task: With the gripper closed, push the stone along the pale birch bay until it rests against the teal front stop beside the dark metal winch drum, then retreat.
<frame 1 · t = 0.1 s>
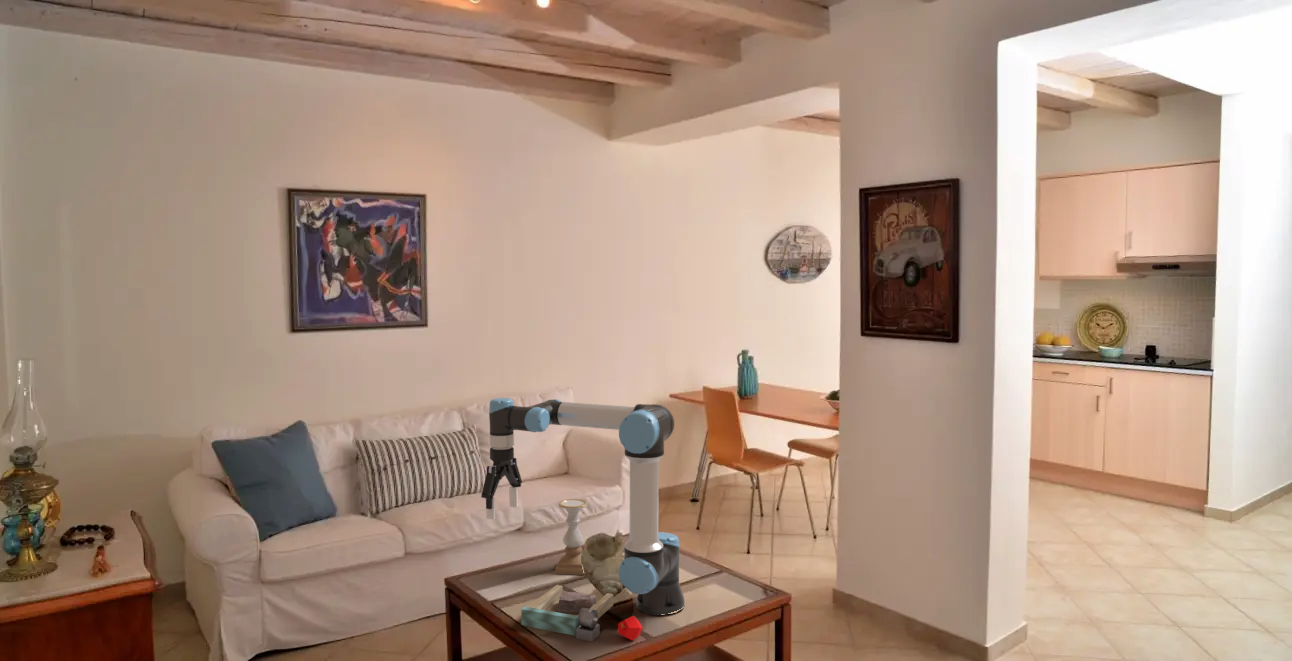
hand: (502, 512, 265), 28 cm above the table, fingers open, 13 cm apart
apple: (630, 638, 239), on the table
bay: (567, 614, 254), on the table
winch: (588, 636, 239), on the table
stone: (576, 609, 259), on the table
candle holder: (573, 569, 292), on the table
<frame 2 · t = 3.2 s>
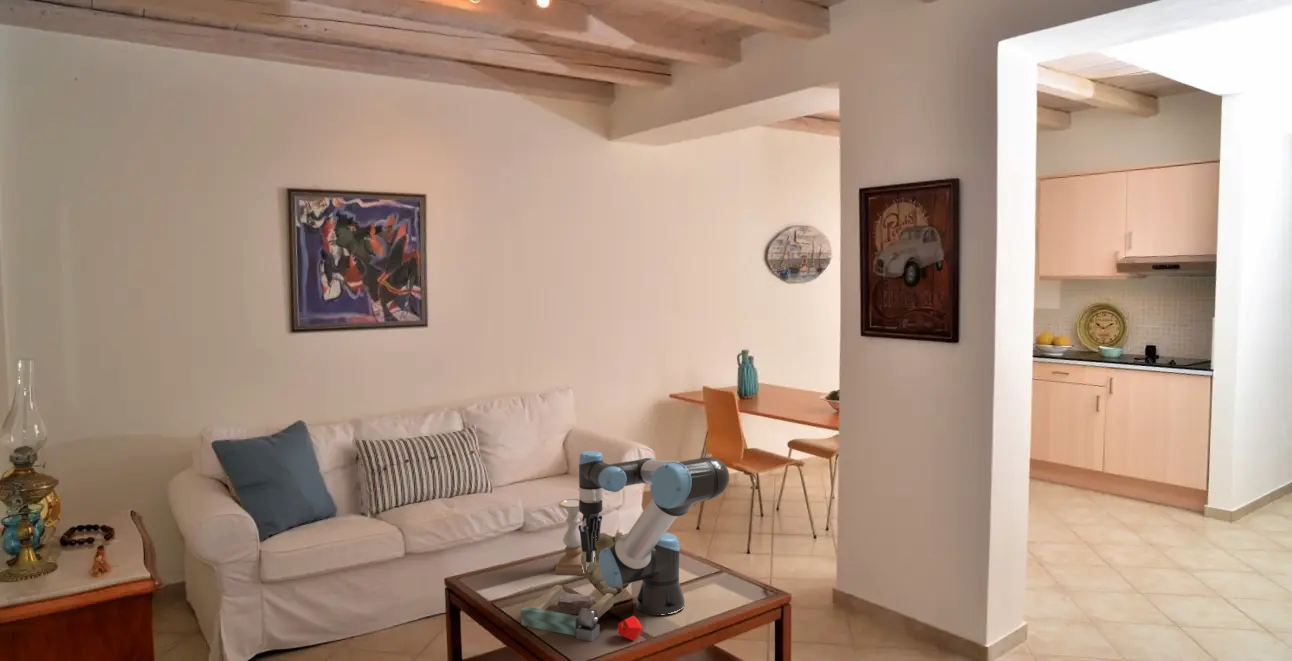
hand: (590, 570, 269), 8 cm above the table, fingers closed
stone: (575, 610, 258), on the table
everything else where it was.
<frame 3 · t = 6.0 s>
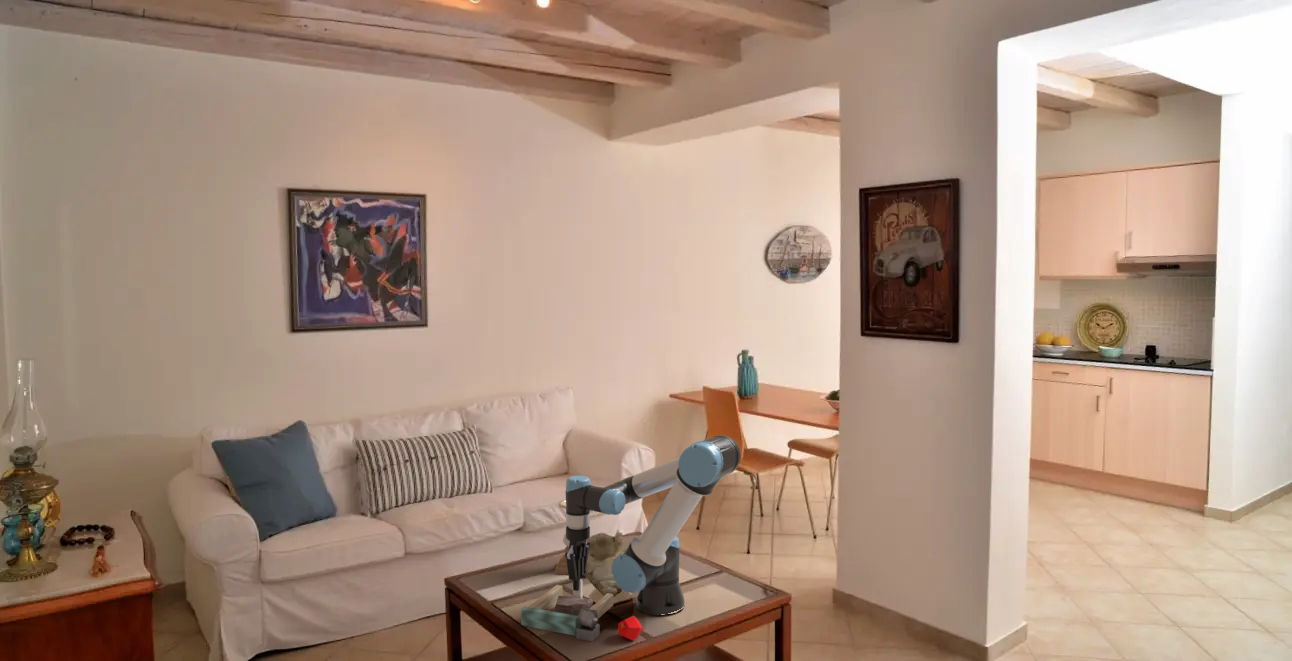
hand: (577, 598, 261), 2 cm above the table, fingers closed
stone: (573, 613, 256), on the table, touching gripper
everything else where it was.
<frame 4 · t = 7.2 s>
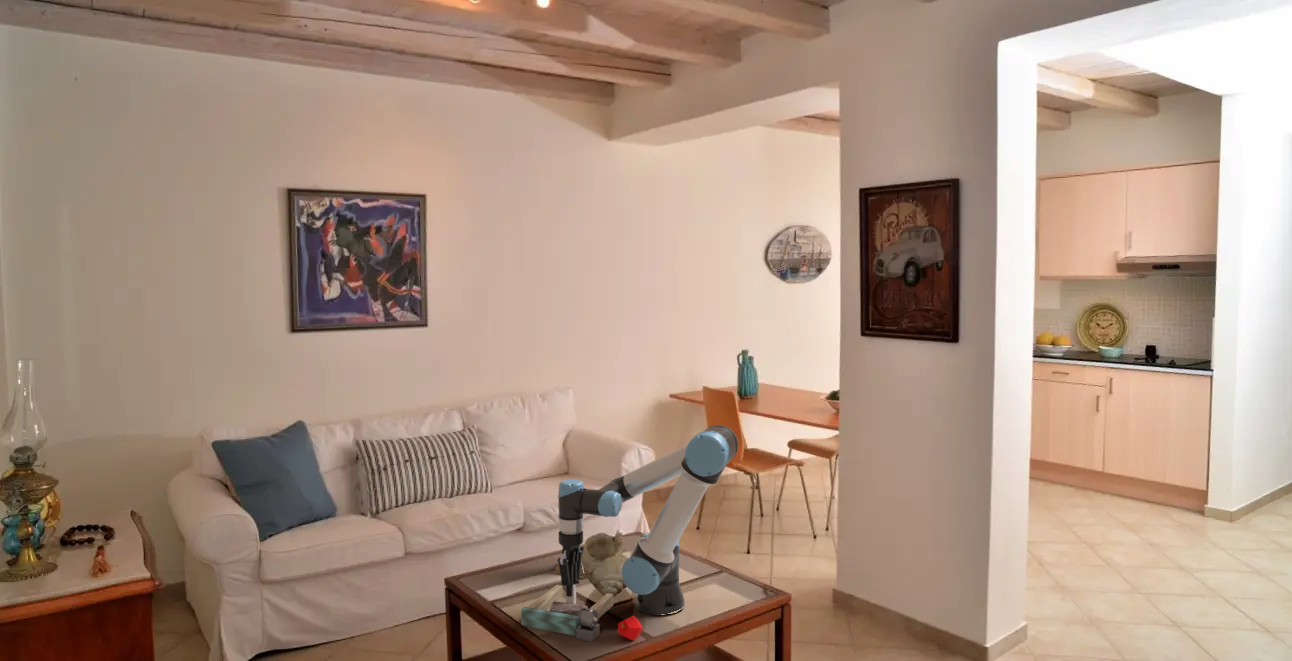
hand: (571, 605, 257), 2 cm above the table, fingers closed
stone: (567, 620, 251), on the table
everything else where it was.
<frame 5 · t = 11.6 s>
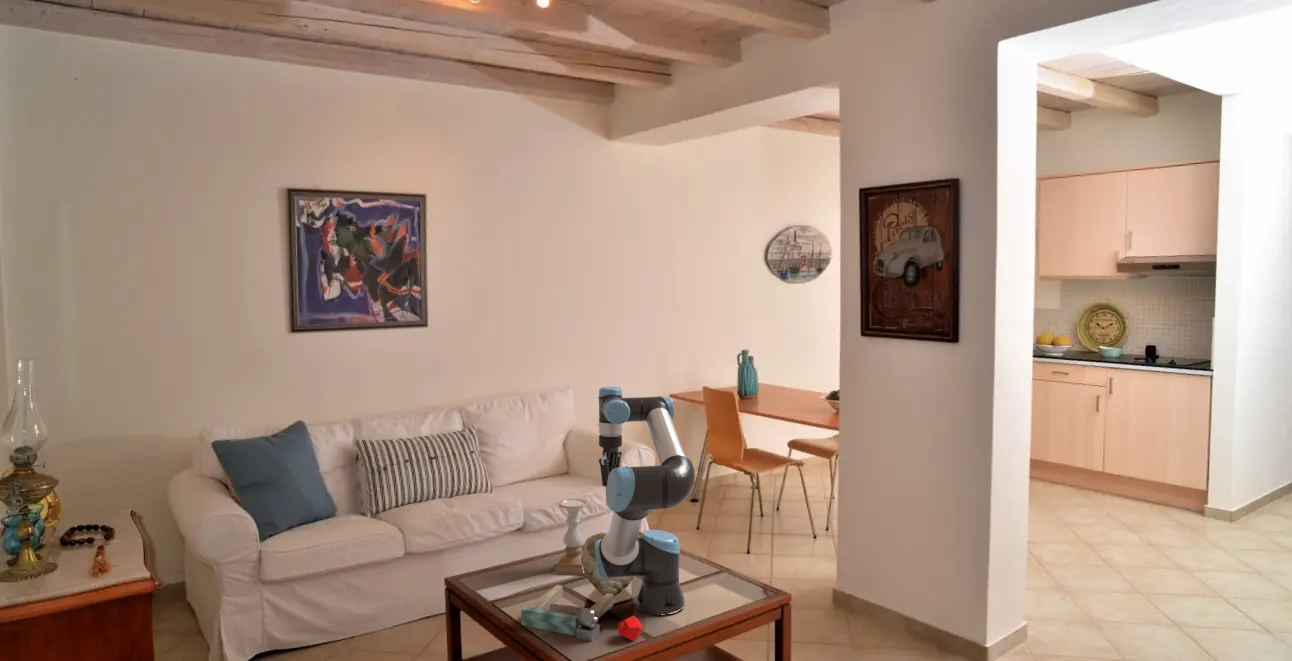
hand: (610, 505, 272), 28 cm above the table, fingers closed
stone: (565, 622, 250), on the table
everything else where it was.
at the end: stone inside the target area (2.0 cm from its centre), on the table; stone moved 10.3 cm from its start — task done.
